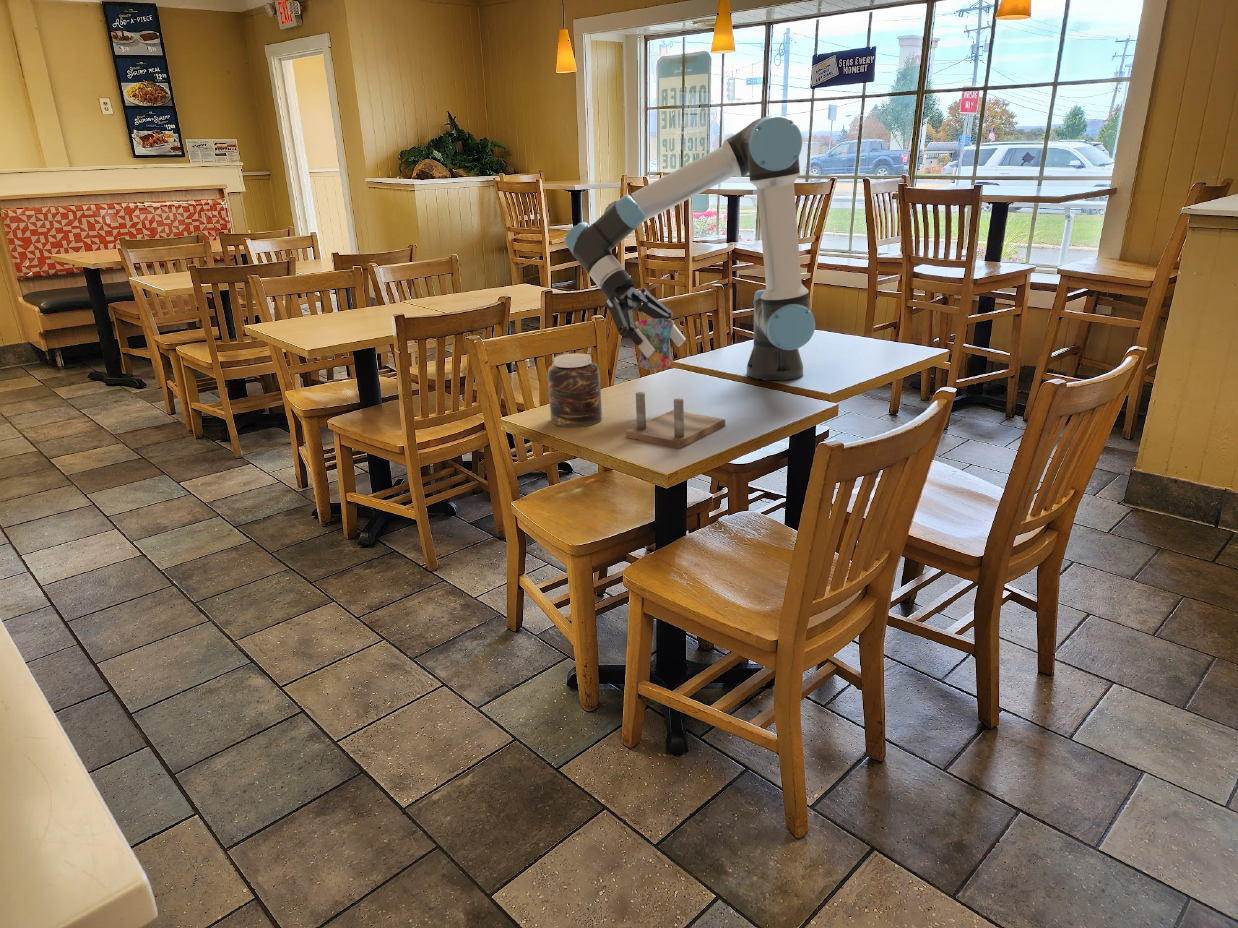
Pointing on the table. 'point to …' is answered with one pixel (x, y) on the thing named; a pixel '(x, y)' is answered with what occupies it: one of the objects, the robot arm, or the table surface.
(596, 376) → the jar
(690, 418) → the board
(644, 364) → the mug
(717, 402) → the table surface
